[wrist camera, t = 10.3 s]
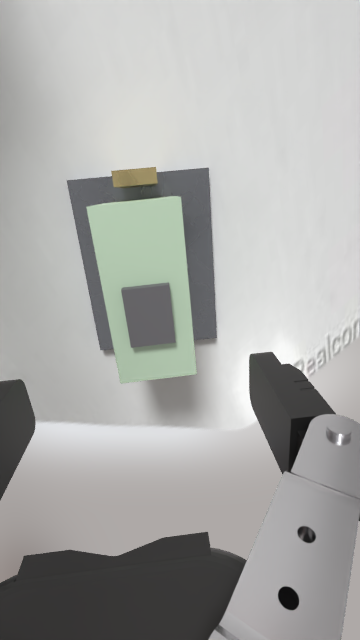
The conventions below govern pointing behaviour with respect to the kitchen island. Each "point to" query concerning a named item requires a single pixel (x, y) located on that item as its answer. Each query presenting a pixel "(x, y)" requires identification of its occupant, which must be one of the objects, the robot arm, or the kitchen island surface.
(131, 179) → the metal plate
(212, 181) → the kitchen island surface
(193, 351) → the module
